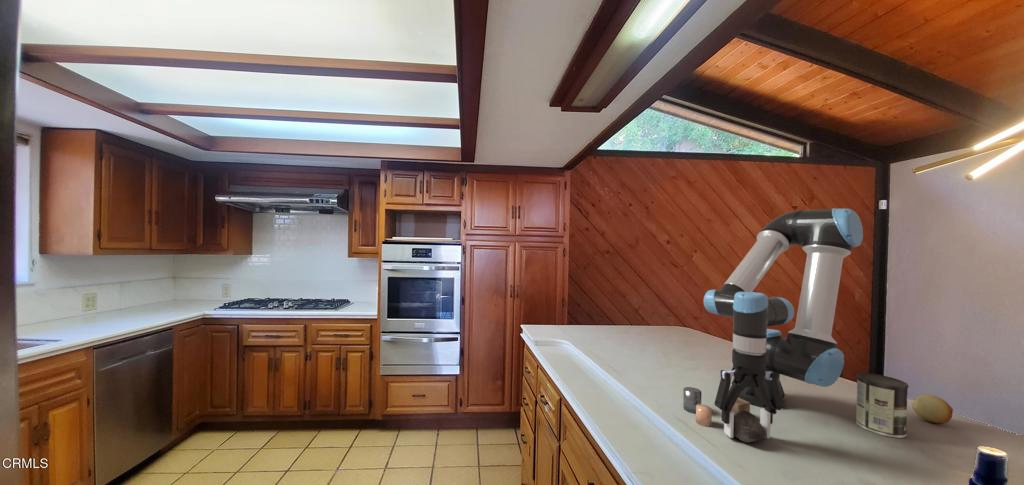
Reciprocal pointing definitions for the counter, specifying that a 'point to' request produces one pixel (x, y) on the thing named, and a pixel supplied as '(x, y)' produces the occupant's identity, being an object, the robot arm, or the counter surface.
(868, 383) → the coffee can
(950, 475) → the counter surface
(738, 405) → the walnut block
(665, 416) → the counter surface
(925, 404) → the fruit
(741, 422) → the stone
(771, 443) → the counter surface
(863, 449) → the counter surface
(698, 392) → the metal tin
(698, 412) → the peach rounded capsule
